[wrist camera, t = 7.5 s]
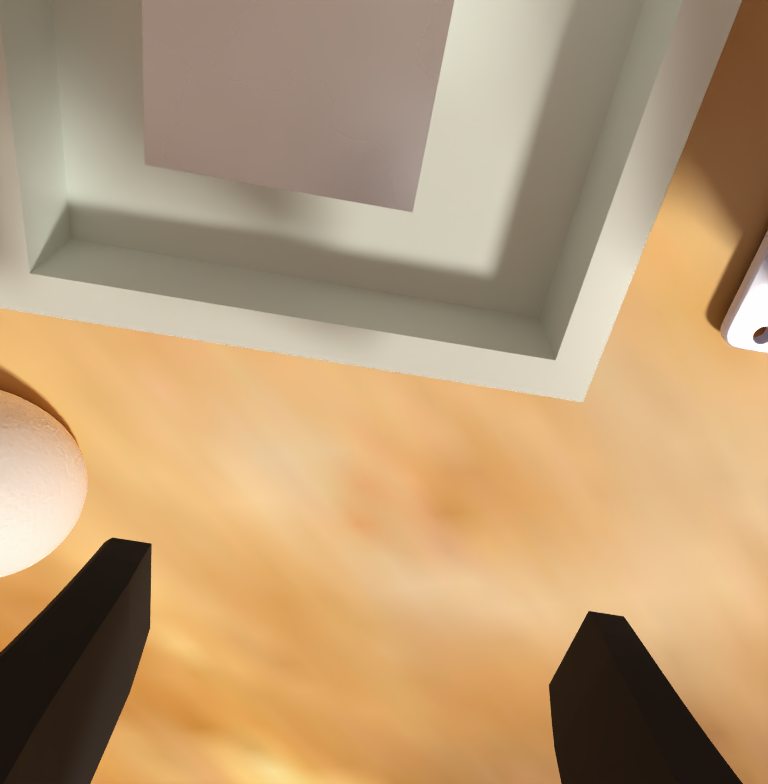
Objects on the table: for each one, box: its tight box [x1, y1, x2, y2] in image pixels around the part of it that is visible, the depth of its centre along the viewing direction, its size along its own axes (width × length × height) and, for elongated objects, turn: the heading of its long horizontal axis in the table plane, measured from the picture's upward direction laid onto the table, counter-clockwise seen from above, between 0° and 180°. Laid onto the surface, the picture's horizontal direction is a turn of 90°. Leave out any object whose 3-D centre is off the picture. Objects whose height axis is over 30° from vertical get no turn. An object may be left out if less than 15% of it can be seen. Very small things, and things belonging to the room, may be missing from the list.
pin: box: [142, 0, 454, 212], centre depth 11 cm, size 3×3×8 cm
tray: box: [0, 0, 742, 402], centre depth 14 cm, size 14×14×3 cm
